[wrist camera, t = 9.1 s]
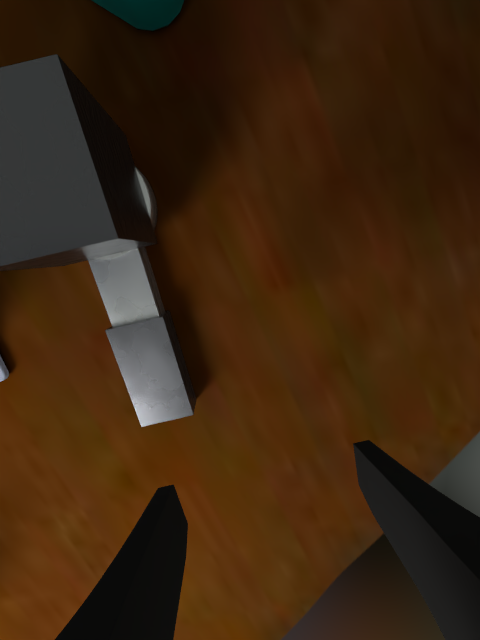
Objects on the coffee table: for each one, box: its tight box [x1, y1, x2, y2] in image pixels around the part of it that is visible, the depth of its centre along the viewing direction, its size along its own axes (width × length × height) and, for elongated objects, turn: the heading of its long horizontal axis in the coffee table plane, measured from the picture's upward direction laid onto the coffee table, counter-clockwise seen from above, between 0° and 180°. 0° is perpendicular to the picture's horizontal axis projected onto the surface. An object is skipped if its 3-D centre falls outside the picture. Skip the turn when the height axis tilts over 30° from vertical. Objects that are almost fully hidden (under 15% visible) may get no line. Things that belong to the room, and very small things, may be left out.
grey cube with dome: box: [0, 54, 158, 271], centre depth 12 cm, size 6×6×6 cm
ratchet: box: [88, 167, 196, 427], centre depth 15 cm, size 17×6×5 cm, turn 13°
